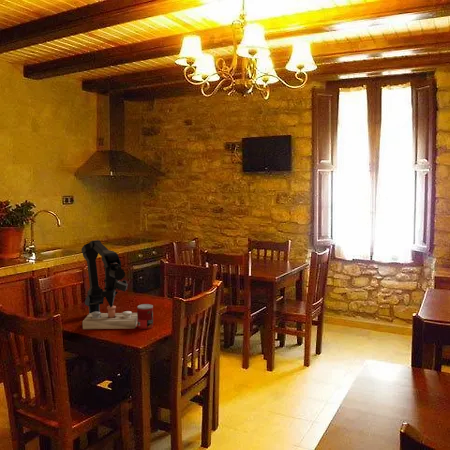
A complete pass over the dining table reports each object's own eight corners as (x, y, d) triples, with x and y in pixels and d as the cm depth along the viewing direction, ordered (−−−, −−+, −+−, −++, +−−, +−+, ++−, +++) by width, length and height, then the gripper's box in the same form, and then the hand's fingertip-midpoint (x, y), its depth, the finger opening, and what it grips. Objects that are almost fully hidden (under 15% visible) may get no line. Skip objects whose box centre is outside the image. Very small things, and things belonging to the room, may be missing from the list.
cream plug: (123, 322, 237) (123, 311, 237) (132, 322, 237) (132, 311, 237) (122, 324, 233) (121, 313, 232) (131, 324, 233) (130, 313, 232)
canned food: (150, 330, 226) (149, 308, 225) (135, 328, 228) (134, 307, 227) (155, 325, 234) (155, 304, 233) (140, 324, 235) (140, 303, 234)
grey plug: (92, 322, 237) (92, 311, 236) (101, 322, 237) (101, 311, 236) (90, 325, 232) (90, 314, 232) (99, 325, 232) (99, 313, 232)
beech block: (89, 320, 241) (89, 313, 241) (139, 320, 242) (138, 312, 242) (82, 329, 227) (82, 321, 227) (134, 328, 228) (134, 320, 228)
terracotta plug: (108, 316, 237) (107, 305, 236) (117, 316, 237) (116, 305, 236) (106, 319, 232) (105, 308, 232) (115, 319, 232) (115, 307, 232)
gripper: (123, 280, 224) (123, 311, 225) (129, 273, 242) (130, 301, 244) (100, 280, 223) (101, 311, 225) (108, 273, 242) (109, 301, 243)
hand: (111, 306), depth 234 cm, fingers closed
